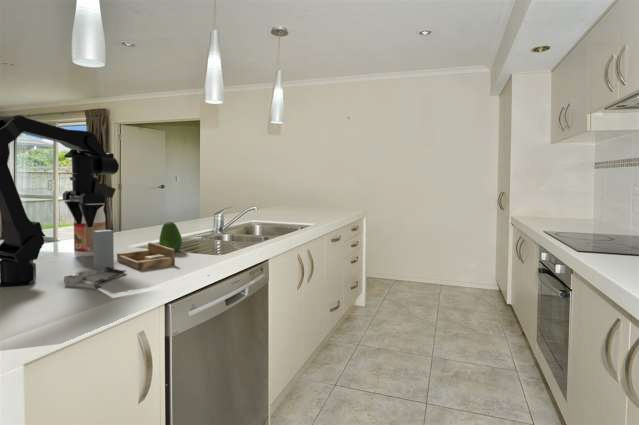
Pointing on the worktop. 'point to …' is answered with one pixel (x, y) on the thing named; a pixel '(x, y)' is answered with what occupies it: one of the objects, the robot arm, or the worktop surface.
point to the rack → (138, 257)
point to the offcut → (154, 257)
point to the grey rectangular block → (103, 249)
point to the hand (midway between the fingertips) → (84, 225)
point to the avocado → (170, 236)
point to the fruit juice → (87, 234)
